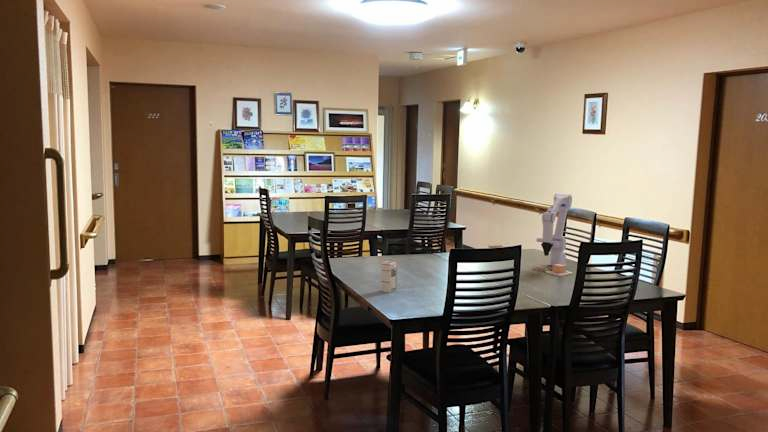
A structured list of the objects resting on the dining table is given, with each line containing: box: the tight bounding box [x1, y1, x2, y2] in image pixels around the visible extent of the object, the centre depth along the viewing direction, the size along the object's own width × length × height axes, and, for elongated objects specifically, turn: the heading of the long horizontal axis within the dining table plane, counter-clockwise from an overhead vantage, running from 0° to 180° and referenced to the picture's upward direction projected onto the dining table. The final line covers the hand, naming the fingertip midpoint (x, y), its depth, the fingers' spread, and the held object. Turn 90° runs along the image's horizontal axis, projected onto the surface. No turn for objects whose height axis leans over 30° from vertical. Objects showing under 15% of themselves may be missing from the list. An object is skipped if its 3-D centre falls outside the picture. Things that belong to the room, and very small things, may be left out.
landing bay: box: [545, 270, 574, 277], centre depth 362 cm, size 11×10×1 cm
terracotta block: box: [552, 264, 567, 274], centre depth 362 cm, size 5×5×5 cm
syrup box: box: [380, 260, 398, 293], centre depth 308 cm, size 6×6×14 cm
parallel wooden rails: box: [532, 264, 553, 273], centre depth 370 cm, size 8×11×2 cm
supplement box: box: [487, 243, 504, 249], centre depth 376 cm, size 8×5×13 cm, turn 84°
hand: (546, 255), depth 369 cm, fingers closed
